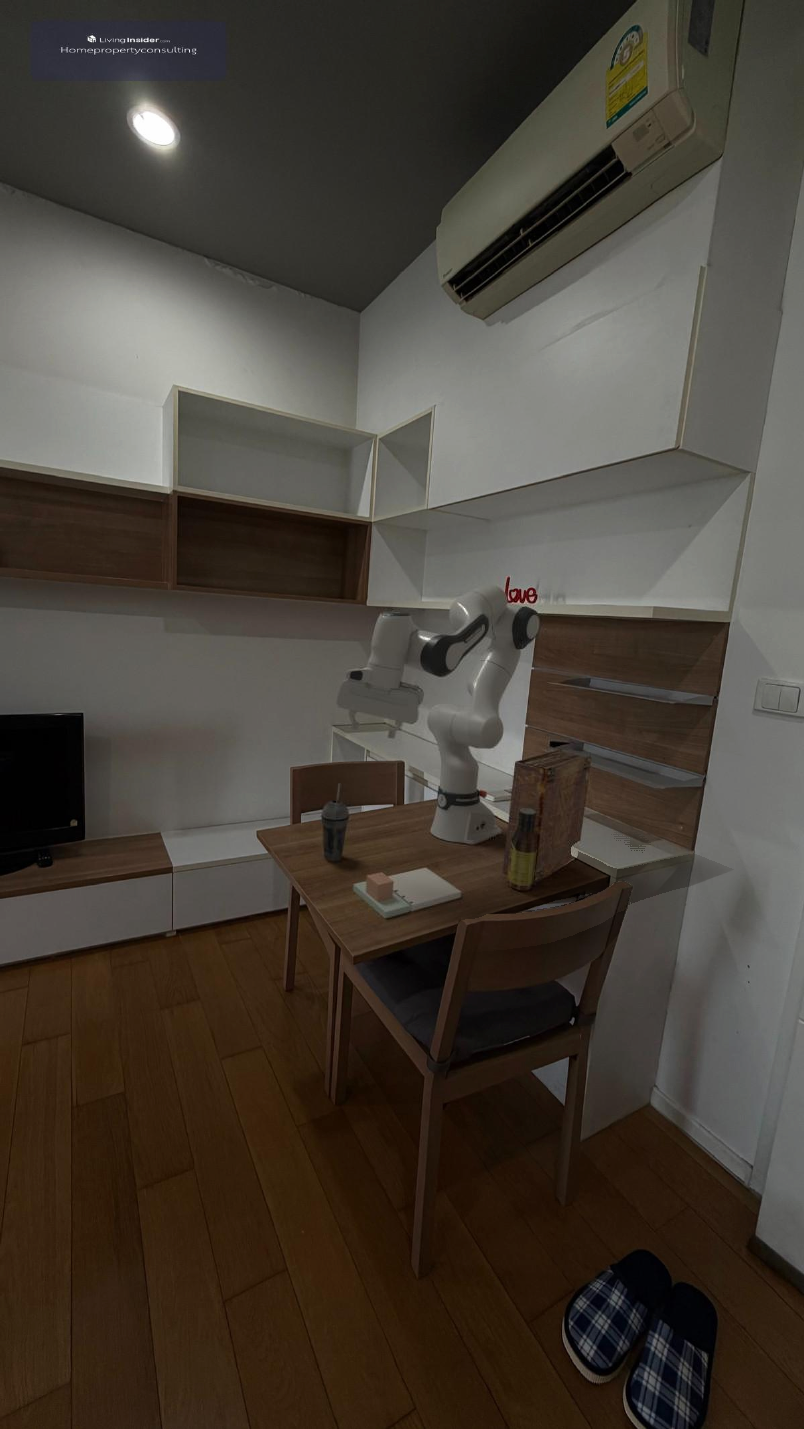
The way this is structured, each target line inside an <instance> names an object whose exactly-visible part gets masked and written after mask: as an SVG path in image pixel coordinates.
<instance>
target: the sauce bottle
mask: <svg viewBox="0 0 804 1429" xmlns="http://www.w3.org/2000/svg"><path fill="white" fill-rule="evenodd" d="M535 818H536V811H535V810H533V809H528V808H522V809H520V810H519V824H518V828H517V829H516V831H515V833H514V835H513V837H512V841H511V850H510V860H509V869H508V874H507V884H508V886H509V887H510V888H512V889H514V890H517V891H522V892H524V891H528V890H530V889H532V886H533V884H532V882H533V878H534V870H535V861H536V852H537V836H536V834H535V832H534V830H533V829H534V821H535Z"/></svg>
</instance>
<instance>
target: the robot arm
mask: <svg viewBox="0 0 804 1429" xmlns="http://www.w3.org/2000/svg"><path fill="white" fill-rule="evenodd" d="M448 616H449V623H450V625H451V627H452V629H453V630H454V631H455V632H454V633H453V634H452V633H451V634H442V633H438V632H432V631H428V630H427V631H426V630H424V629H423V630H422V629H421V628H420V627H418V626H417V625H416V624H415V623H414V621H413V618H412V615H411V613H409V612H407V611H406V612H405V611H401V610H384V611H383V612H381V613H380V614H379V615H378V617H377V620H376V623H375V626H374V628H373V629H374V630H373V632H372V633H373V634H372V638H371V644H370V648H371V649H370V650H371V654H370V656H369V658H368V660H367V664H366V665H367V666H366V667H359V668H352V669H351V668H350V669H348V670H346V672H345V680H343V681H342V682H341V684H340V687H339V688H338V692H337V696H336V701H335V703H336V705H337V707H338V708H341V709H343V710H349V711H348V716H349V719H350V722H351V723H350V729H351V730H354V731H355V730H356V731H357V730H358V729H359V726H360V725H359V724H360V722H359V721H357V719H356V716H355V715H357V713H362V714H364V715H365V714H366V715H370V716H374V717H379V718H383V719H387V720H392V721H395V723H394V725H395V727H394V729H389V730H388V735H387V738H389V739H393V740H395V738H396V732H397V731H399V729H400V728H401V727H402V725H403V723H405V724H409V725H414V724H415V723H417V722H418V720H419V716H420V715H419V714H420V706H421V704H422V703H423V702H424V696H425V694H424V693H425V692H424V690H423V689H422V688H421V687H420V686H419V685H417V684H411V683H408V682H403V681H402V680H403V677H404V676H403V675H404V671H405V667H408V668H412V669H415V670H418V671H422V672H425V673H427V674H431V675H433V676H435V677H439V678H444V677H447V676H448V675H450V674H452V673H453V672H454V671H455V670H456V669H457V667H459V665H460V663H461V661H462V660H463V659H464V658H465V657H466V656H467V655H468V654H469V653H470V652H471V651H473V649H474V648H475V647H477V646H478V644H479V643H480V642H482V641H483V640H484V638H487V639H491V641H490V645H489V646H488V647H487V649H486V650H485V651H484V652H483V654H482V655H481V657H480V659H479V660H478V662H477V664H476V666H475V668H474V669H473V670H472V672H471V674H470V676H469V678H468V680H467V682H466V688H467V692H468V693H469V695H470V696H471V698H470V701H469V703H468V705H467V706H465V705H461V704H457V703H452V702H451V703H449V702H448V703H447V702H445V703H444V702H443V703H437V704H435V705H433V706H432V707H431V709H430V710H429V712H428V714H427V719H426V723H427V727H428V729H429V732H431V734H432V735H433V736H434V739H435V741H436V744H437V746H438V751H439V756H440V779H439V780H440V782H439V786H438V788H437V794H436V795H437V796H436V799H437V806H436V810H435V814H434V818H433V821H432V825H431V827H430V829H429V831H430V833H431V835H433V836H434V837H436V838H438V839H441V840H444V841H448V842H453V843H464V844H468V845H477V844H479V843H482V842H484V841H487V840H489V838H490V839H492V838H491V837H493V838H494V836H495V835H498V834H500V833H502V834H503V831H502V829H501V828H500V826H498V825H496V819H495V818H496V817H495V814H494V812H493V811H492V809H490V808H489V807H488V806H486V804H485V803H483V802H482V801H481V798H483V799H485V798H486V797H487V796H488V792H487V791H485V790H482V789H480V790H479V789H478V780H479V769H480V766H479V764H478V762H477V759H476V758H474V756H473V754H472V753H471V750H470V747H471V748H474V749H482V750H483V749H484V750H485V749H486V750H488V749H494V748H495V747H497V746H498V744H500V742H501V740H502V739H503V736H504V724H503V721H502V719H501V718H500V714H499V713H500V712H499V709H500V708H499V707H500V702H501V701H502V700H501V699H502V698H503V696H504V693H505V691H506V689H507V687H508V685H509V683H510V681H511V679H512V678H513V677H514V674H515V671H516V669H517V666H518V665H519V662H520V657H521V655H522V654H521V653H522V652H521V650H524V649H525V648H526V647H527V646H528V645H530V644H531V643H532V642H533V641H534V640H535V639H536V638H537V636H538V634H539V632H540V629H541V619H540V616H539V613H538V611H536V610H535V609H533V608H531V607H529V606H525V605H524V606H522V605H519V604H514V603H510V602H508V596H507V594H506V592H505V591H504V589H503V588H501V587H500V586H498V585H494V584H487V585H483V586H479V587H476V588H474V589H472V590H470V591H467V592H465V593H464V594H462V595H461V596H459V597H458V598H456V599H455V600H454V601H453V602H452V604H451V605H450V608H449V612H448ZM480 797H481V798H480ZM500 835H501V834H500ZM498 836H499V835H498ZM495 837H496V836H495Z"/></svg>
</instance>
